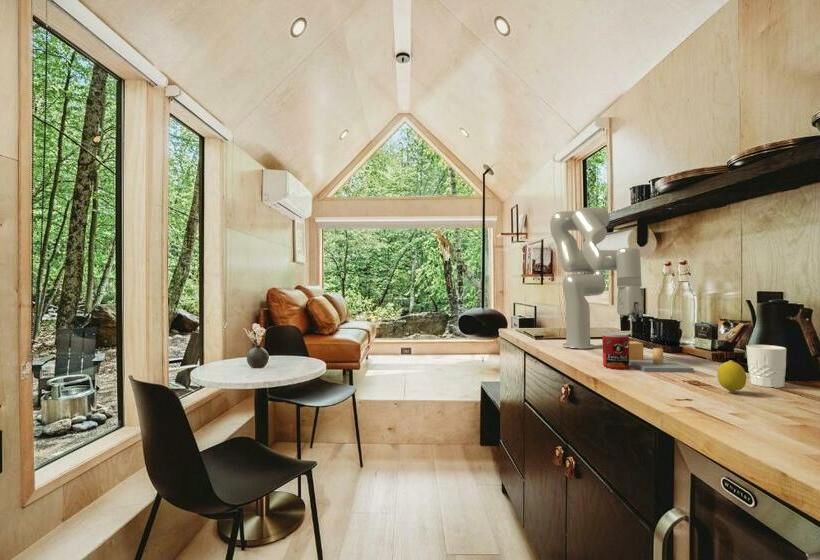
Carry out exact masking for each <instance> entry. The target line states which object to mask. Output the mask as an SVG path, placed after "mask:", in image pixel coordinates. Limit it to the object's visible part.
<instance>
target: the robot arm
mask: <svg viewBox="0 0 820 560" xmlns="http://www.w3.org/2000/svg"><path fill="white" fill-rule="evenodd" d="M610 219H611V217H610V214H609V212H608V210H607V209H605V208H603V207H602V208H601V207H580V208H577V209H576V210H575V211H572V210H568V211H567V210H565V211H563V210H562V211H559V212H556V213H554V214H553V215H552V216H551V218H550V225H549V228H550V233H551V236H552V239H553V240H554V243H555V244H556V247H557V248H556V249H557V253H558V257H559V260H560V264H561V265H560V266H561V267H562V270H563V271H564V272H567V273H571V274H568V275H566V276H565V277H563V279H562V289H563V295H564V301H565V303H564V305H565V337H566V338H565V340H566V342H564V343H562V346H563V345H564V346H567V347H574V348H593V349H595V348H594V347H595V344H593V343H591V313H590V312H591V309H590V304H589V302H588V300H587V298H586V297H585V296H587V297H588V296H592V297H593V296H600V295H602V294H603V293H605V290H606V286H607V285H606V284H607V283H606V279H605V276H604V275H605V274H604V272H603V271H616V286H617V287H616V288H617V299H616V300H617V306H616V307H617V308H616V310H617V311H616V313H617V314H618V315H619V321H620V323H619V325H620V331H622V332H630V331H631V333H632V334H643V333H644V327H643V326H644V325H643V324H644V323H643V322H644V319H643V318H644V308H643V298H642V292H641V288H642V287H643V286H642V269H641V267H642V266H641V265H642V264H641V251H640V249H639V248H638V247H621V248H619V249H617V250H616V249H600V248H598V247H597V245H598V244H600V243H601V242H603V241H604V240H605V239H606V237H607V235H608V230H607V229H606V227H607V226H608V225H609V223H610V221H611V220H610ZM569 231H579V233H580V234H581V236H582V238H583V239H584V241H583V244H582V250H581V249H580V248H579V245H578V242H577V239H576V237H574V235H572V233H570V232H569ZM630 318H631V319H632V321H631V319H630Z"/></svg>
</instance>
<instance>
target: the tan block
mask: <svg viewBox="0 0 820 560" xmlns="http://www.w3.org/2000/svg"><path fill="white" fill-rule="evenodd" d="M629 360H645V359H644V343H641V342H639V341H635V340H633V341H632V340H629Z"/></svg>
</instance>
